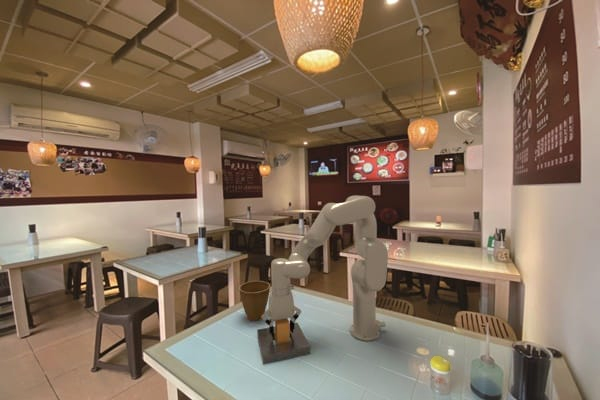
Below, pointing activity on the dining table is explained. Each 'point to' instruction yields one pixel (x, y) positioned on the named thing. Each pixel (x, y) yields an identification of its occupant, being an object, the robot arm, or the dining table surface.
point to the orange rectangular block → (282, 331)
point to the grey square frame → (282, 345)
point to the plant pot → (254, 298)
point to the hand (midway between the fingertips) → (282, 332)
